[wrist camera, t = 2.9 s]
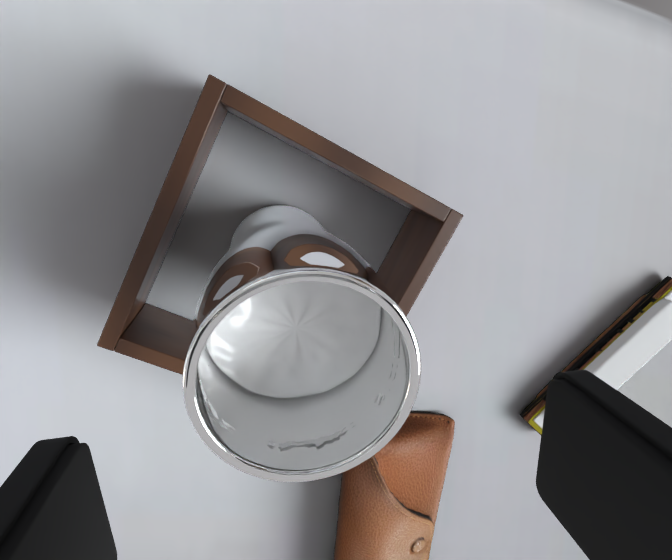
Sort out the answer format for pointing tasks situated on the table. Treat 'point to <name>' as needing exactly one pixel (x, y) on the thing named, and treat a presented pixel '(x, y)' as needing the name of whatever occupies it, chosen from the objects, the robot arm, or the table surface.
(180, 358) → the crate
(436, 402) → the table surface
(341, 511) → the sunglasses case
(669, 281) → the harmonica
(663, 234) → the table surface
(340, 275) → the beer glass
